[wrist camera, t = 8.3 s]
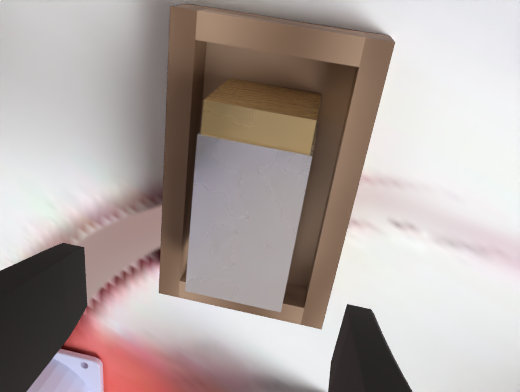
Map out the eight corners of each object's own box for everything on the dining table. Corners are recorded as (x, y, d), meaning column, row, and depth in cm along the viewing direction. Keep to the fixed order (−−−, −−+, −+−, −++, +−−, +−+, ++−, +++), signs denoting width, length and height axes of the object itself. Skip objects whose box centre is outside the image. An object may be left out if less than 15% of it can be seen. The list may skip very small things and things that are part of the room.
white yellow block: (211, 240, 22) (185, 291, 18) (228, 77, 18) (200, 100, 15) (291, 258, 22) (280, 312, 18) (324, 94, 18) (319, 121, 15)
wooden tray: (172, 269, 24) (158, 292, 22) (187, 3, 18) (170, 6, 16) (323, 302, 23) (321, 329, 21) (389, 35, 17) (395, 42, 15)
